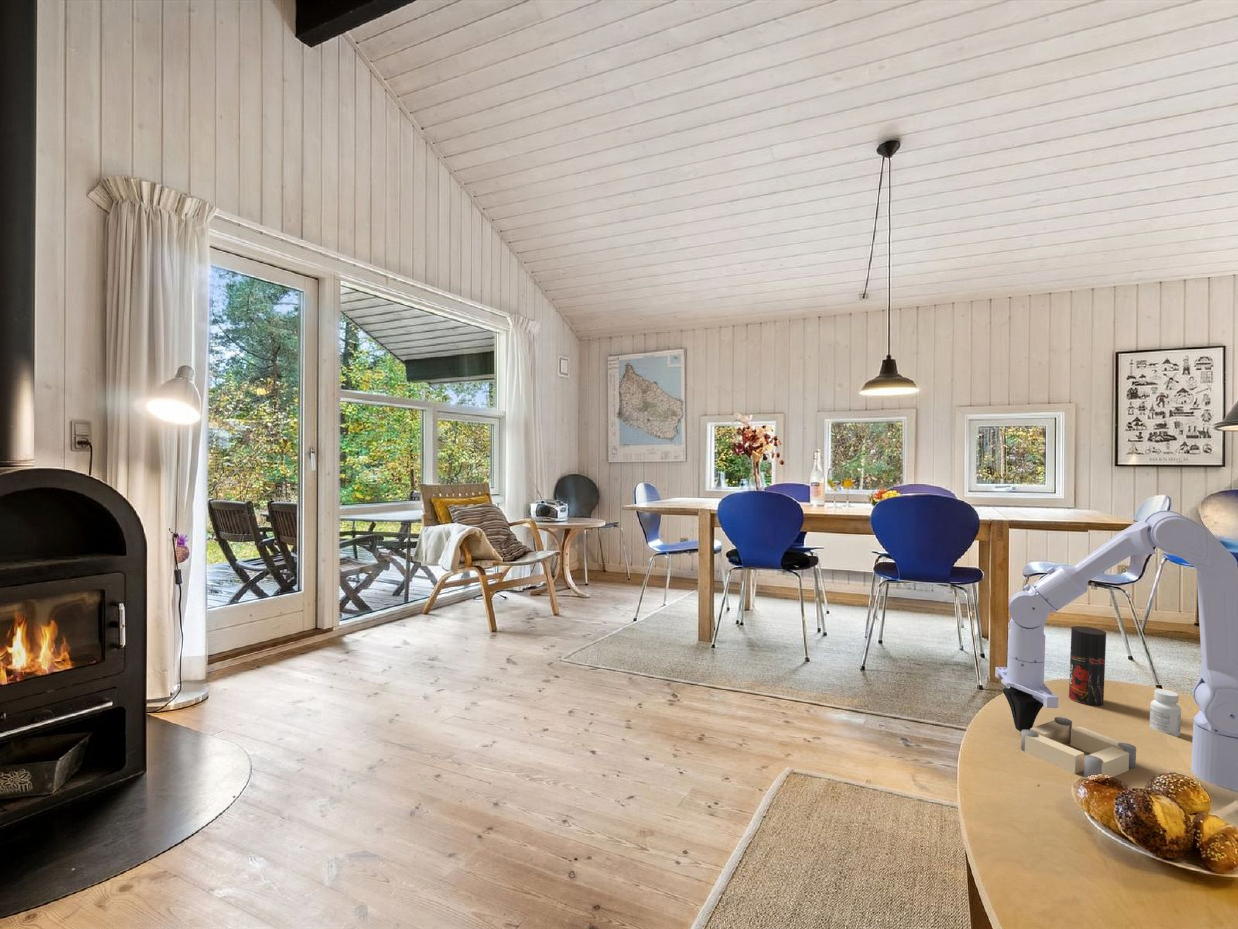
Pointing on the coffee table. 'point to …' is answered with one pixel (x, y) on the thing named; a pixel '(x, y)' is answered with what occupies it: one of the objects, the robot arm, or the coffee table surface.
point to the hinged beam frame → (1102, 760)
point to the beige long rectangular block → (1055, 730)
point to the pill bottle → (1165, 712)
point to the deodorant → (1087, 665)
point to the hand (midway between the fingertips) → (1023, 730)
